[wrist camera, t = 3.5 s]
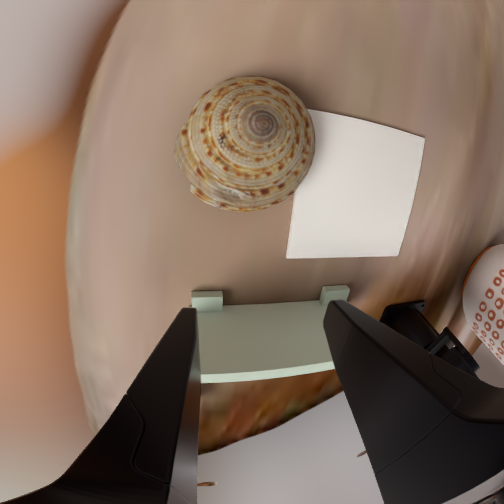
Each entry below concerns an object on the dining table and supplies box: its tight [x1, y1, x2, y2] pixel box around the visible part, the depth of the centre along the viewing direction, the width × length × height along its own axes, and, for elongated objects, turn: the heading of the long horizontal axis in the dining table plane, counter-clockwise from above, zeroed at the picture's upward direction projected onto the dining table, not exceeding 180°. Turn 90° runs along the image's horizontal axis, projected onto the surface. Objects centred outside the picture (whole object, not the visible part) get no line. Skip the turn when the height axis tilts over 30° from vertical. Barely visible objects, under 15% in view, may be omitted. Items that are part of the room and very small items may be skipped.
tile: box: [286, 109, 425, 259], centre depth 19 cm, size 11×11×1 cm
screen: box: [189, 285, 350, 383], centre depth 20 cm, size 14×4×7 cm, turn 86°
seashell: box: [174, 76, 316, 212], centre depth 15 cm, size 8×6×8 cm
